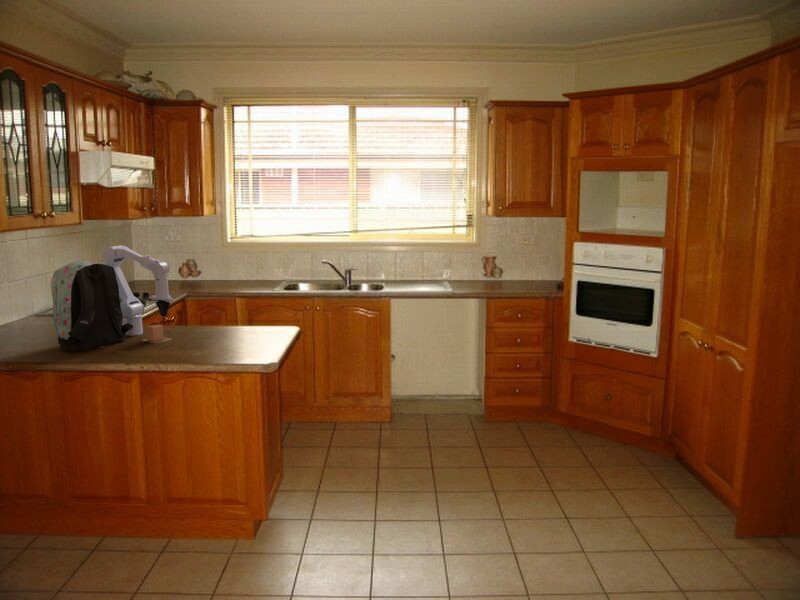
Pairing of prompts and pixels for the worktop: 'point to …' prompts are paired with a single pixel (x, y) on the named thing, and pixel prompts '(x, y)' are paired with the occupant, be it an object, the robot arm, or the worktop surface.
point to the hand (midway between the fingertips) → (163, 316)
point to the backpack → (87, 306)
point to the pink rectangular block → (154, 333)
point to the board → (158, 341)
